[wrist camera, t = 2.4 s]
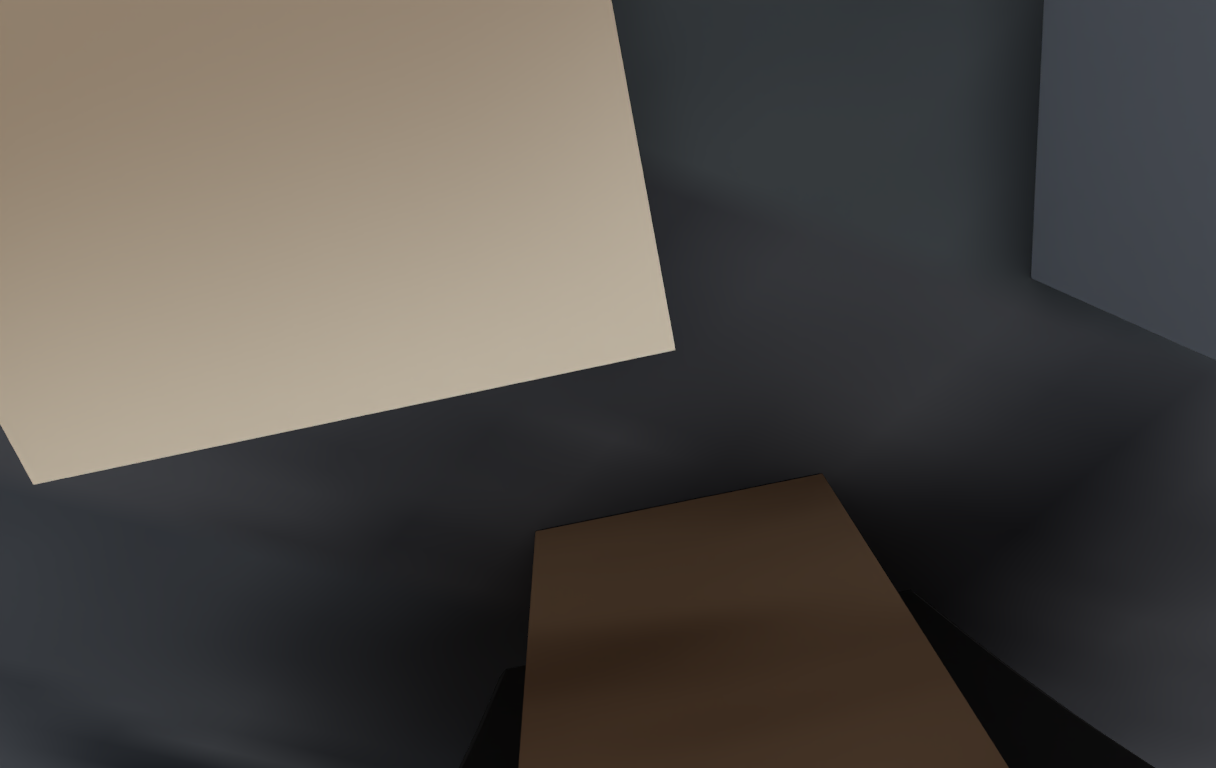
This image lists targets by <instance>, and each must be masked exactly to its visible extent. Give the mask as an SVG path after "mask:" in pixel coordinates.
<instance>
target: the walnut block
mask: <svg viewBox="0 0 1216 768" xmlns="http://www.w3.org/2000/svg"><path fill="white" fill-rule="evenodd" d="M519 768H1009V767H1008V766H1007V764H1006V762H1005V761H1004V759H1003V758H1002V756H1001V755H1000V753H999V751H998V750H997V748H996V747H995V745H994V744H993V742H992V740H991V739H990V737H989V736H988V734H987V733H986V731H985V729H984V728H983V726H982V725H981V723H980V722H979V720H978V718H977V717H976V715H975V714H974V712H973V710H972V709H971V707H970V706H969V704H968V703H967V701H966V699H965V698H964V696H963V695H962V693H961V692H960V690H959V688H958V687H957V685H956V684H955V682H954V681H953V679H952V677H951V676H950V674H949V673H948V671H947V669H946V668H945V666H944V665H943V663H942V662H941V660H940V658H939V657H938V655H937V654H936V652H935V651H934V649H933V647H932V646H931V644H930V643H929V641H928V640H927V638H926V636H925V635H924V633H923V632H922V630H921V629H920V627H919V625H918V624H917V622H916V621H915V619H914V617H913V616H912V614H911V613H910V611H909V610H908V608H907V606H906V605H905V603H904V602H903V600H902V599H901V597H900V595H899V594H898V592H897V591H896V589H895V588H894V586H893V584H892V583H891V581H890V580H889V578H888V577H887V575H886V573H885V572H884V570H883V569H882V567H881V565H880V564H879V562H878V561H877V559H876V558H875V556H874V554H873V553H872V551H871V550H870V548H869V547H868V545H867V543H866V542H865V540H864V539H863V537H862V536H861V534H860V532H859V531H858V529H857V528H856V526H855V524H854V523H853V521H852V520H851V518H850V517H849V515H848V513H847V512H846V510H845V509H844V507H843V506H842V504H841V502H840V501H839V499H838V498H837V496H836V495H835V493H834V491H833V490H832V488H831V487H830V485H829V484H828V482H827V480H826V479H825V477H824V476H823V474H818V475H813V476H808V477H803V478H798V479H793V480H788V481H783V482H778V483H773V484H768V485H763V486H758V487H753V488H748V489H744V490H739V491H734V492H729V493H724V494H719V495H714V496H709V497H704V498H699V499H694V500H689V501H684V502H679V503H674V504H669V505H664V506H659V507H654V508H649V509H644V510H639V511H635V512H630V513H625V514H620V515H615V516H610V517H605V518H600V519H595V520H590V521H585V522H580V523H575V524H570V525H565V526H560V527H555V528H550V529H545V530H540V531H536V532H535V546H534V560H533V574H532V588H531V602H530V616H529V629H528V643H527V657H526V671H525V685H524V699H523V713H522V727H521V740H520V754H519Z"/></svg>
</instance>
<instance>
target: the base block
mask: <svg viewBox="0 0 1216 768" xmlns="http://www.w3.org/2000/svg"><path fill="white" fill-rule="evenodd" d="M1031 278H1032V279H1034V280H1036V281H1039V282H1041V283H1043V284H1045V285H1048V286H1050V287H1052V288H1054V289H1057V290H1059V291H1061V292H1063V293H1065V294H1068V295H1070V296H1072V297H1074V298H1077V299H1079V300H1081V301H1083V302H1086V303H1088V304H1090V305H1092V306H1095V307H1097V308H1099V309H1101V310H1104V311H1106V312H1108V313H1110V314H1113V315H1115V316H1117V317H1119V318H1122V319H1124V320H1126V321H1128V322H1131V323H1133V324H1135V325H1137V326H1139V327H1142V328H1144V329H1146V330H1148V331H1151V332H1153V333H1155V334H1157V335H1160V336H1162V337H1164V338H1166V339H1169V340H1171V341H1173V342H1175V343H1178V344H1180V345H1182V346H1184V347H1187V348H1189V349H1191V350H1193V351H1196V352H1198V353H1200V354H1202V355H1204V356H1207V357H1209V358H1211V359H1213V360H1216V0H1044V11H1043V32H1042V54H1041V75H1040V96H1039V117H1038V138H1037V159H1036V180H1035V202H1034V223H1033V244H1032V265H1031Z"/></svg>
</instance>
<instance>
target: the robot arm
mask: <svg viewBox="0 0 1216 768" xmlns="http://www.w3.org/2000/svg"><path fill="white" fill-rule="evenodd" d="M898 594H899V595H900V597H901V599H902V600H903V602H904V603H905V605H906V606H907V608H908V610H909V611H910V613H911V614H912V616H913V617H914V619H915V621H916V622H917V624H918V625H919V627H920V629H921V630H922V632H923V633H924V635H925V636H926V638H927V640H928V641H929V643H930V644H931V646H932V647H933V649H934V651H935V652H936V654H937V655H938V657H939V658H940V660H941V662H942V663H943V665H944V666H945V668H946V669H947V671H948V673H949V674H950V676H951V677H952V679H953V681H954V682H955V684H956V685H957V687H958V688H959V690H960V692H961V693H962V695H963V696H964V698H965V699H966V701H967V703H968V704H969V706H970V707H971V709H972V710H973V712H974V714H975V715H976V717H977V718H978V720H979V722H980V723H981V725H982V726H983V728H984V729H985V731H986V733H987V734H988V736H989V737H990V739H991V740H992V742H993V744H994V745H995V747H996V748H997V750H998V751H999V753H1000V755H1001V756H1002V758H1003V759H1004V761H1005V762H1006V764H1007V766H1008V767H1009V768H1155V767H1153V766H1152V765H1150V764H1148V763H1147V762H1145V761H1144V760H1142V759H1141V758H1139V757H1138V756H1136V755H1135V754H1133V753H1132V752H1130V751H1129V750H1127V749H1125V748H1124V747H1122V746H1121V745H1119V744H1118V743H1116V742H1115V741H1113V740H1112V739H1110V738H1109V737H1107V736H1106V735H1104V734H1103V733H1101V732H1100V731H1098V730H1097V729H1095V728H1094V727H1092V726H1091V725H1090V724H1088V723H1087V722H1085V721H1084V720H1082V719H1081V718H1079V717H1078V716H1076V715H1075V714H1074V713H1072V712H1071V711H1069V710H1068V709H1066V708H1065V707H1064V706H1062V705H1061V704H1060V703H1058V702H1057V701H1055V700H1054V699H1053V698H1051V697H1050V696H1048V695H1047V694H1046V693H1044V692H1043V691H1042V690H1040V689H1039V688H1037V687H1036V686H1035V685H1033V684H1032V683H1031V682H1029V681H1028V680H1026V679H1025V678H1024V677H1022V676H1021V675H1019V674H1018V673H1017V672H1015V671H1014V670H1013V669H1012V668H1010V667H1009V666H1008V665H1006V664H1005V663H1004V662H1002V661H1001V660H1000V659H998V658H997V657H996V656H994V655H993V654H992V653H991V652H989V651H988V650H987V649H985V648H984V647H983V646H982V645H980V644H979V643H978V642H976V641H975V640H974V639H972V638H971V637H970V636H969V635H967V634H966V633H965V632H964V631H962V630H961V629H960V628H959V627H957V626H956V625H955V624H954V623H952V622H951V621H950V620H949V619H947V618H946V617H945V616H944V615H942V614H941V613H940V612H939V611H937V610H936V609H935V608H934V607H932V606H931V605H930V604H929V603H927V602H926V601H925V600H924V599H922V598H921V597H920V596H919V595H917V594H916V593H914V592H913V591H911V590H907V591H902V592H898ZM525 671H526V665H525V666H520V667H515V668H510V669H506V670H505V671H504V673H503V674H502V675H501V677H500V678H499V680H498V683H497V685H496V688H495V690H494V692H493V695H492V697H491V699H490V702H489V704H488V706H487V709H486V711H485V713H484V715H483V718H482V720H481V722H480V724H479V726H478V729H477V731H476V733H475V735H474V737H473V739H472V742H471V744H470V746H469V748H468V750H467V752H466V754H465V756H464V759H463V761H462V763H461V765H460V767H459V768H519V754H520V740H521V727H522V713H523V699H524V685H525Z"/></svg>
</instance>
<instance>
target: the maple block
mask: <svg viewBox="0 0 1216 768" xmlns="http://www.w3.org/2000/svg"><path fill="white" fill-rule="evenodd" d="M673 350H675V345H674V339H673V334H672V328H671V323H670V318H669V312H668V307H667V301H666V296H665V290H664V285H663V279H662V274H661V268H660V263H659V258H658V252H657V247H656V241H655V236H654V230H653V225H652V219H651V214H650V208H649V203H648V197H647V192H646V187H645V181H644V176H643V170H642V165H641V159H640V154H639V148H638V143H637V137H636V132H635V127H634V121H633V116H632V110H631V105H630V99H629V94H628V88H627V83H626V77H625V72H624V66H623V61H622V56H621V50H620V45H619V39H618V34H617V28H616V23H615V17H614V12H613V6H612V1H611V0H0V424H1V426H2V428H3V430H4V432H5V434H6V435H7V437H8V439H9V441H10V443H11V445H12V446H13V448H14V450H15V452H16V454H17V456H18V457H19V459H20V461H21V463H22V465H23V466H24V468H25V470H26V472H27V474H28V476H29V477H30V479H31V481H32V483H33V485H34V484H39V483H44V482H49V481H53V480H58V479H63V478H68V477H72V476H77V475H82V474H87V473H91V472H96V471H101V470H106V469H111V468H115V467H120V466H125V465H130V464H134V463H139V462H144V461H149V460H153V459H158V458H163V457H168V456H172V455H177V454H182V453H187V452H192V451H196V450H201V449H206V448H211V447H215V446H220V445H225V444H230V443H234V442H239V441H244V440H249V439H254V438H258V437H263V436H268V435H273V434H277V433H282V432H287V431H292V430H296V429H301V428H306V427H311V426H316V425H320V424H325V423H330V422H335V421H339V420H344V419H349V418H354V417H358V416H363V415H368V414H373V413H377V412H382V411H387V410H392V409H397V408H401V407H406V406H411V405H416V404H420V403H425V402H430V401H435V400H439V399H444V398H449V397H454V396H459V395H463V394H468V393H473V392H478V391H482V390H487V389H492V388H497V387H501V386H506V385H511V384H516V383H521V382H525V381H530V380H535V379H540V378H544V377H549V376H554V375H559V374H563V373H568V372H573V371H578V370H583V369H587V368H592V367H597V366H602V365H606V364H611V363H616V362H621V361H625V360H630V359H635V358H640V357H644V356H649V355H654V354H659V353H664V352H668V351H673Z"/></svg>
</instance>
